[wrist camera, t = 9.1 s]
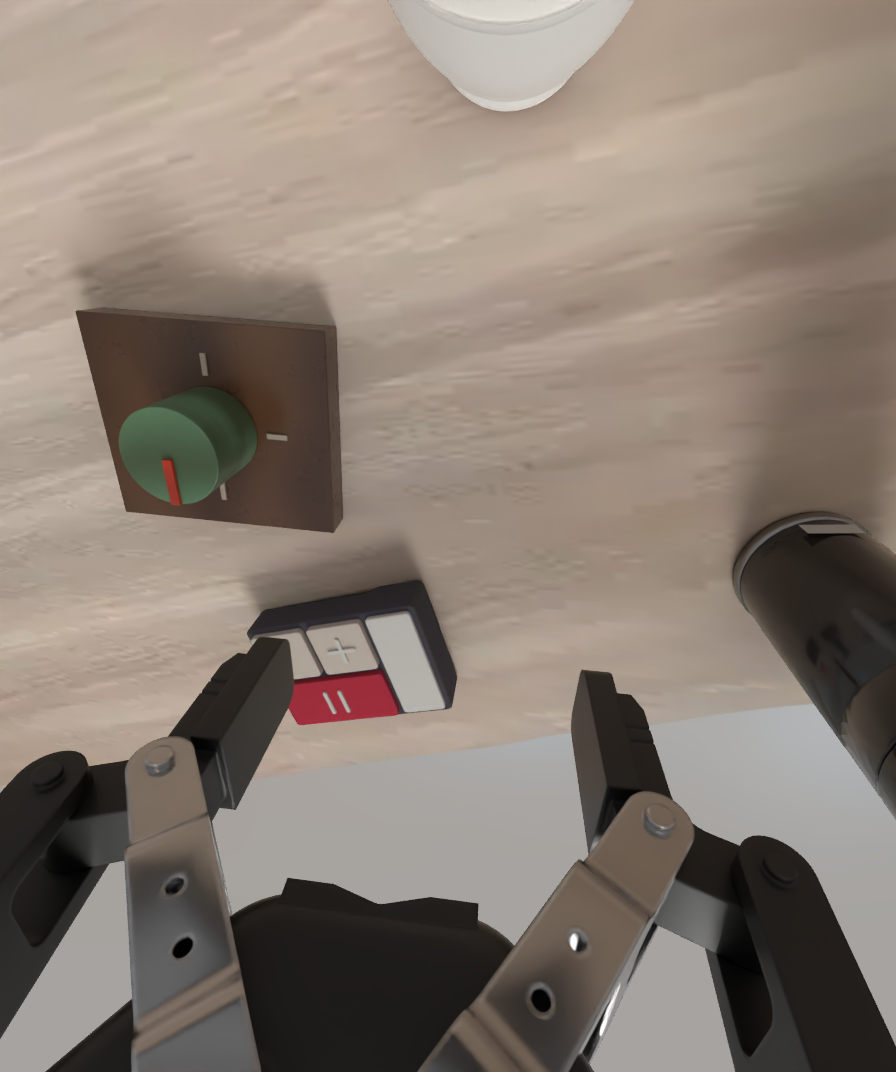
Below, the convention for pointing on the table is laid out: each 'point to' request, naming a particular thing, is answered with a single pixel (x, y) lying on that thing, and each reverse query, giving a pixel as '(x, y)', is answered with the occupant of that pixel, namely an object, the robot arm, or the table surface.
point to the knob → (187, 444)
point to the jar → (509, 43)
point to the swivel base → (255, 381)
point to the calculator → (363, 655)
